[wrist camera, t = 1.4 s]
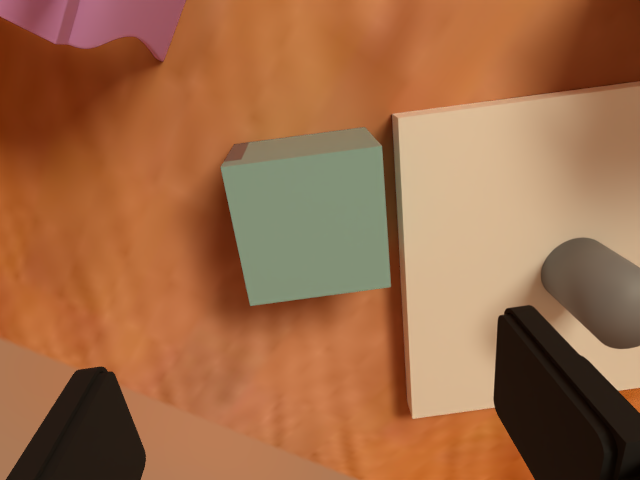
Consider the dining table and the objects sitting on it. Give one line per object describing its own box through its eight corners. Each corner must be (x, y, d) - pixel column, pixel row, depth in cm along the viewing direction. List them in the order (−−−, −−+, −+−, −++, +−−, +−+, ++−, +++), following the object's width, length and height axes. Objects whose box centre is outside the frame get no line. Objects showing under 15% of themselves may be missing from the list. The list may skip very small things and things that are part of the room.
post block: (685, 364, 32) (777, 438, 26) (407, 402, 31) (434, 485, 25) (763, 64, 24) (923, 70, 18) (391, 113, 23) (426, 135, 18)
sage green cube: (373, 245, 26) (391, 287, 22) (257, 261, 26) (250, 305, 22) (364, 127, 24) (381, 146, 19) (234, 144, 24) (220, 167, 19)
